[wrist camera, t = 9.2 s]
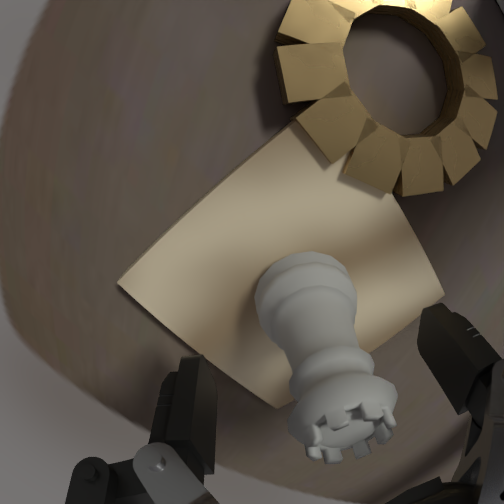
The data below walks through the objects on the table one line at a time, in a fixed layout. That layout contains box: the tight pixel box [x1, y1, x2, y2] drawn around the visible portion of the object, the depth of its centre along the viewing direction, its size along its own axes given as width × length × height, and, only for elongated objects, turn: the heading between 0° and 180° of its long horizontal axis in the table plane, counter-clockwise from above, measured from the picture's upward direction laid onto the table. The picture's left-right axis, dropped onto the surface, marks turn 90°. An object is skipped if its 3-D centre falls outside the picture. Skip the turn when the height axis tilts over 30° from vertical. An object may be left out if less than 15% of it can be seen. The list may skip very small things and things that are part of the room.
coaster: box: [117, 121, 445, 409], centre depth 14 cm, size 12×12×1 cm
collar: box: [273, 0, 498, 197], centre depth 10 cm, size 11×11×1 cm
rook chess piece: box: [254, 251, 398, 464], centre depth 10 cm, size 4×4×8 cm
